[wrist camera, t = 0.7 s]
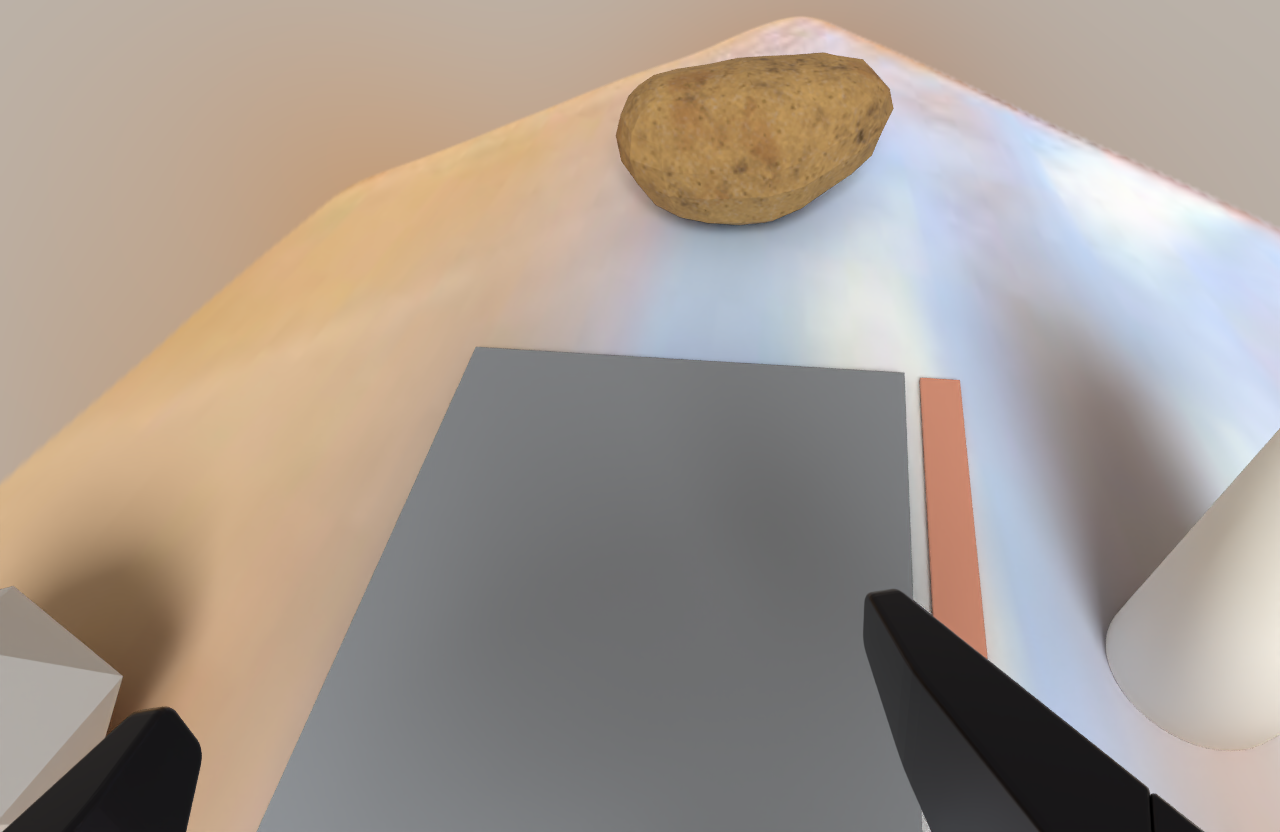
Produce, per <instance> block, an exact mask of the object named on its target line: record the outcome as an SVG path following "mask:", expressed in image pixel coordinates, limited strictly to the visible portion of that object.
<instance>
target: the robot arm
mask: <svg viewBox="0 0 1280 832" xmlns="http://www.w3.org/2000/svg"><path fill="white" fill-rule="evenodd" d="M863 642H864V647H865V652H866V655H867V658H868V661H869V664H870V667H871V671H872V674H873V677H874V680H875V683H876V686H877V689H878V692H879V695H880V698H881V702H882V705H883V708H884V711H885V714H886V717H887V720H888V723H889V726H890V729H891V733H892V736H893V739H894V742H895V745H896V748H897V751H898V754H899V757H900V760H901V762H902V765H903V768H904V770H905V773H906V775H907V778H908V780H909V782H910V785H911V787H912V789H913V792H914V794H915V796H916V798H917V801H918V803H919V805H920V807H921V809H922V812H923V814H924V816H925V818H926V821H927V823H928V825H929V827H930V829H931V832H1204V831H1203V830H1202V829H1200V828H1199V827H1198V826H1196V825H1195V824H1194V823H1192V822H1191V821H1190V820H1189V819H1187V818H1186V817H1185V816H1184V815H1182V814H1181V813H1180V812H1178V811H1177V810H1176V809H1175V808H1173V807H1172V806H1171V805H1170V804H1168V803H1167V802H1166V801H1165V800H1163V799H1162V798H1161V797H1160V796H1158V795H1157V794H1154V793H1153V794H1151V795H1150V791H1149V788H1148V787H1147V786H1145V785H1144V784H1143V783H1142V782H1140V781H1139V780H1138V779H1137V778H1135V777H1134V776H1133V775H1132V774H1130V773H1129V772H1128V771H1127V770H1125V769H1124V768H1123V767H1122V766H1120V765H1119V764H1118V763H1117V762H1115V761H1114V760H1113V759H1112V758H1110V757H1109V756H1108V755H1107V754H1105V753H1104V752H1103V751H1102V750H1100V749H1099V748H1098V747H1097V746H1095V745H1094V744H1093V743H1092V742H1090V741H1089V740H1088V739H1087V738H1085V737H1084V736H1083V735H1082V734H1080V733H1079V732H1078V731H1077V730H1075V729H1074V728H1073V727H1072V726H1070V725H1069V724H1068V723H1067V722H1065V721H1064V720H1063V719H1062V718H1060V717H1059V716H1058V715H1056V714H1055V713H1054V712H1053V711H1051V710H1050V709H1049V708H1048V707H1046V706H1045V705H1044V704H1043V703H1041V702H1040V701H1039V700H1038V699H1036V698H1035V697H1034V696H1033V695H1031V694H1030V693H1029V692H1028V691H1026V690H1025V689H1024V688H1023V687H1021V686H1020V685H1019V684H1018V683H1016V682H1015V681H1014V680H1013V679H1011V678H1010V677H1009V676H1008V675H1006V674H1005V673H1004V672H1003V671H1001V670H1000V669H999V668H998V667H996V666H995V665H994V664H993V663H991V662H990V661H989V660H988V659H986V658H985V657H984V656H983V655H981V654H980V653H979V652H978V651H976V650H975V649H974V648H973V647H971V646H970V645H969V644H967V643H966V642H965V641H964V640H962V639H961V638H960V637H959V636H957V635H956V634H955V633H954V632H952V631H951V630H950V629H949V628H947V627H946V626H945V625H944V624H942V623H941V622H940V621H939V620H937V619H936V618H935V617H934V616H932V615H931V614H930V613H929V612H927V611H926V610H925V609H924V608H922V607H921V606H920V605H919V604H917V603H916V602H915V601H914V600H912V599H911V598H910V597H909V596H907V595H906V594H905V593H904V592H902V591H900V590H898V589H886V590H879V591H873V592H869V593H868V594H867V595H866V597H865V600H864V620H863ZM201 760H202V753H201V747H200V744H199V742H198V740H197V739H196V737H195V736H194V735H193V733H192V732H191V731H190V730H189V728H188V727H187V726H186V724H185V723H184V722H183V720H182V719H181V718H180V716H179V715H178V714H177V712H176V711H175V710H174V709H172V708H170V707H158V708H151V709H145V710H140V711H137V712H135V713H133V714H131V715H130V716H129V717H127V718H126V719H125V720H124V721H123V722H122V723H121V724H120V725H118V726H117V727H116V728H115V729H114V730H113V731H112V732H111V733H110V734H109V735H107V736H106V737H105V738H104V739H103V740H102V741H101V742H100V743H99V744H98V745H97V746H95V747H94V748H93V749H92V750H91V751H90V752H89V753H88V754H87V755H86V756H84V757H83V758H82V759H81V760H80V761H79V762H78V763H77V764H76V765H75V766H74V767H72V768H71V769H70V770H69V771H68V772H67V773H66V774H65V775H64V776H63V777H61V778H60V779H59V780H58V781H57V782H56V783H55V784H54V785H53V786H52V787H50V788H49V789H48V790H47V791H46V792H45V793H44V794H43V795H42V796H41V797H40V798H38V799H37V800H36V801H35V802H34V803H33V804H32V805H31V806H30V807H29V808H27V809H26V810H25V811H24V812H23V813H22V814H21V815H20V816H19V817H18V818H16V819H15V820H14V821H13V822H12V823H11V824H10V825H9V826H8V827H7V828H6V829H4V830H3V831H2V832H186V830H187V825H188V821H189V816H190V812H191V807H192V803H193V798H194V793H195V789H196V784H197V780H198V775H199V771H200V766H201Z"/></svg>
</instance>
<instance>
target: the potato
mask: <svg viewBox="0 0 1280 832" xmlns="http://www.w3.org/2000/svg"><path fill="white" fill-rule="evenodd" d="M892 110H893V104H892V99H891V94H890V89H889V88H888V87H887V85H886V84H885V83H884V82H883V81H882V80H881V78H880V77H879V76H878V75H877V74H876V73H875V72H874V70H873V69H872V68H871V67H870V66H869V65H868V64H867V63H866V62H865V61H864V60H863V59H856V58H850V57H843V56H836V55H832V54H828V53H812V54H799V55H780V56H760V57H745V58H735V59H731V60H726V61H721V62H717V63H712V64H707V65H700V66H694V67H687V68H680V69H675V70H671V71H668V72H664V73H660V74H656V75H653V76H652V77H650V78H649V79H647V80H646V81H645V82H643V83H642V84H640V85H639V86H638V87H637V88H636V89H635V90H634V91H633V92H632V93H631V94H630V95H629V96H628V99H627V101H626V103H625V106H624V108H623V111H622V113H621V116H620V120H619V124H618V129H617V133H616V138H617V143H618V147H619V152H620V157H621V161H622V163H623V164H624V165H625V167H626V168H627V169H628V171H629V172H630V174H631V175H632V176H633V178H634V179H635V181H636V182H637V183H638V185H639V186H640V187H641V188H642V189H643V191H644V192H645V193H646V194H647V195H648V196H649V198H650V199H651V200H652V201H653V202H654V204H655V205H657V206H659V207H661V208H663V209H665V210H667V211H669V212H671V213H673V214H675V215H677V216H679V217H682V218H687V219H691V220H696V221H701V222H706V223H718V224H730V225H745V224H755V223H765V222H770V221H773V220H775V219H778V218H780V217H782V216H785V215H787V214H790V213H792V212H794V211H797V210H799V209H801V208H803V207H804V206H805V205H807V204H808V203H810V202H811V201H812V200H814V199H815V198H817V197H818V196H820V195H821V194H823V193H824V192H826V191H827V190H828V189H830V188H831V187H833V186H834V185H836V184H837V183H839V182H840V181H842V180H843V179H845V178H846V177H848V176H849V175H851V174H852V173H853V172H854V171H855V170H856V169H857V168H859V167H860V166H861V165H862V164H863V163H864V162H865V161H866V160H867V159H868V158H869V157H871V156H872V153H873V151H874V149H875V147H876V144H877V142H878V140H879V137H880V135H881V133H882V131H883V129H884V127H885V125H886V123H887V120H888V118H889V116H890V114H891V112H892Z"/></svg>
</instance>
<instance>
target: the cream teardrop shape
mask: <svg viewBox="0 0 1280 832" xmlns="http://www.w3.org/2000/svg"><path fill="white" fill-rule="evenodd" d="M1106 654H1107V659H1108V663H1109V666H1110V669H1111V672H1112V674H1113V676H1114V678H1115V680H1116V682H1117V684H1118V685H1119V687H1120V689H1121V690H1122V692H1123V693H1124V694H1125V695H1126V697H1127V698H1128V699H1129V701H1130V702H1131V703H1132V704H1133V705H1134V706H1135V707H1136V708H1137V709H1138V710H1139V711H1140V712H1141V713H1142V714H1143V715H1144V716H1145V717H1146V718H1148V719H1149V720H1150V721H1152V722H1153V723H1154V724H1156V725H1157V726H1158V727H1160V728H1161V729H1163V730H1165V731H1166V732H1168V733H1169V734H1171V735H1173V736H1175V737H1177V738H1179V739H1181V740H1184V741H1186V742H1189V743H1191V744H1194V745H1197V746H1201V747H1204V748H1208V749H1214V750H1220V751H1240V750H1246V749H1251V748H1254V747H1257V746H1259V745H1262V744H1264V743H1266V742H1268V741H1269V740H1271V739H1273V738H1275V737H1276V736H1278V735H1280V429H1279V430H1278V431H1277V432H1276V433H1275V434H1274V436H1273V437H1272V438H1271V439H1270V440H1269V441H1268V442H1267V444H1266V445H1265V446H1264V447H1263V448H1262V449H1261V450H1260V451H1259V453H1258V454H1257V455H1256V456H1255V457H1254V458H1253V459H1252V461H1251V462H1250V463H1249V464H1248V465H1247V466H1246V467H1245V469H1244V470H1243V471H1242V472H1241V473H1240V474H1239V475H1238V476H1237V478H1236V479H1235V480H1234V481H1233V482H1232V483H1231V484H1230V486H1229V487H1228V488H1227V489H1226V490H1225V491H1224V492H1223V493H1222V495H1221V496H1220V497H1219V498H1218V499H1217V500H1216V501H1215V503H1214V504H1213V505H1212V506H1211V507H1210V508H1209V509H1208V511H1207V512H1206V513H1205V514H1204V515H1203V516H1202V517H1201V518H1200V520H1199V521H1198V522H1197V523H1196V524H1195V525H1194V526H1193V528H1192V529H1191V530H1190V531H1189V532H1188V533H1187V534H1186V535H1185V537H1184V538H1183V539H1182V540H1181V541H1180V542H1179V543H1178V545H1177V546H1176V547H1175V548H1174V549H1173V550H1172V551H1171V553H1170V554H1169V555H1168V556H1167V557H1166V558H1165V559H1164V560H1163V562H1162V563H1161V564H1160V565H1159V566H1158V567H1157V568H1156V570H1155V571H1154V572H1153V573H1152V574H1151V575H1150V576H1149V578H1148V579H1147V580H1146V581H1145V582H1144V583H1143V584H1142V585H1141V587H1140V588H1139V589H1138V590H1137V591H1136V592H1135V593H1134V595H1133V596H1132V597H1131V598H1130V599H1129V600H1128V601H1127V602H1126V604H1125V605H1124V606H1123V607H1122V608H1121V609H1120V610H1119V612H1118V613H1117V614H1116V615H1115V616H1114V618H1113V619H1112V621H1111V623H1110V625H1109V628H1108V631H1107V636H1106Z"/></svg>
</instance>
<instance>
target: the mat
mask: <svg viewBox="0 0 1280 832" xmlns="http://www.w3.org/2000/svg"><path fill="white" fill-rule="evenodd" d="M886 589H898V590H900V591H902V592H904V593H905V594H906V595H907V596H909V597H910V598H911V599H912V600H913V584H912V558H911V533H910V507H909V481H908V455H907V429H906V404H905V378H904V373H901V372H884V371H867V370H851V369H834V368H817V367H801V366H784V365H767V364H751V363H734V362H718V361H701V360H684V359H668V358H651V357H634V356H618V355H601V354H585V353H568V352H551V351H535V350H518V349H501V348H485V347H476V348H475V350H474V352H473V355H472V357H471V359H470V361H469V363H468V366H467V368H466V370H465V372H464V374H463V377H462V379H461V381H460V383H459V386H458V388H457V390H456V392H455V394H454V397H453V399H452V401H451V403H450V405H449V408H448V410H447V412H446V414H445V416H444V419H443V421H442V423H441V425H440V428H439V430H438V432H437V434H436V436H435V439H434V441H433V443H432V445H431V447H430V450H429V452H428V454H427V456H426V459H425V461H424V463H423V465H422V467H421V470H420V472H419V474H418V476H417V478H416V481H415V483H414V485H413V487H412V490H411V492H410V494H409V496H408V498H407V501H406V503H405V505H404V507H403V509H402V512H401V514H400V516H399V518H398V520H397V523H396V525H395V527H394V529H393V532H392V534H391V536H390V538H389V540H388V543H387V545H386V547H385V549H384V551H383V554H382V556H381V558H380V560H379V563H378V565H377V567H376V569H375V571H374V574H373V576H372V578H371V580H370V582H369V585H368V587H367V589H366V591H365V593H364V596H363V598H362V600H361V602H360V605H359V607H358V609H357V611H356V613H355V616H354V618H353V620H352V622H351V624H350V627H349V629H348V631H347V633H346V636H345V638H344V640H343V642H342V644H341V647H340V649H339V651H338V653H337V655H336V658H335V660H334V662H333V664H332V666H331V669H330V671H329V673H328V675H327V678H326V680H325V682H324V684H323V686H322V689H321V691H320V693H319V695H318V697H317V700H316V702H315V704H314V706H313V709H312V711H311V713H310V715H309V717H308V720H307V722H306V724H305V726H304V728H303V731H302V733H301V735H300V737H299V740H298V742H297V744H296V746H295V748H294V751H293V753H292V755H291V757H290V759H289V762H288V764H287V766H286V768H285V770H284V773H283V775H282V777H281V779H280V782H279V784H278V786H277V788H276V790H275V793H274V795H273V797H272V799H271V801H270V804H269V806H268V808H267V810H266V813H265V815H264V817H263V819H262V821H261V824H260V826H259V828H258V830H257V832H922V817H921V807H920V805H919V803H918V801H917V798H916V796H915V794H914V792H913V789H912V787H911V785H910V782H909V780H908V778H907V775H906V773H905V770H904V768H903V765H902V762H901V760H900V757H899V754H898V751H897V748H896V745H895V742H894V739H893V736H892V733H891V729H890V726H889V723H888V720H887V717H886V714H885V711H884V708H883V705H882V702H881V698H880V695H879V692H878V689H877V686H876V683H875V680H874V677H873V674H872V671H871V667H870V664H869V661H868V658H867V655H866V652H865V647H864V642H863V620H864V600H865V597H866V595H867V594H868V593H869V592H873V591H879V590H886Z"/></svg>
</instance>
